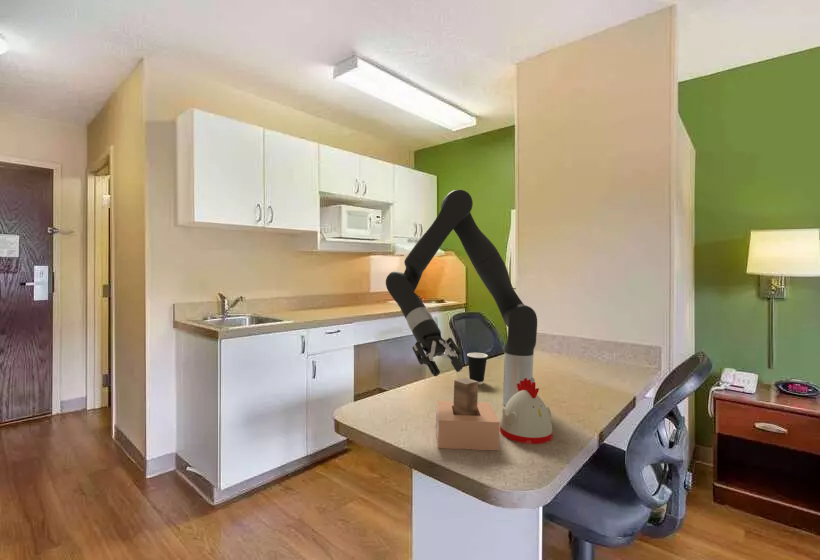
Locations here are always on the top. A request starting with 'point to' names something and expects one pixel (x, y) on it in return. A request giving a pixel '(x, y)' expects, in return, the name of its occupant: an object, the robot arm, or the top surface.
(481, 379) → the dixie cup
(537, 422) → the kitchen timer
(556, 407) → the top surface
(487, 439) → the terracotta well block
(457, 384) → the walnut bar
